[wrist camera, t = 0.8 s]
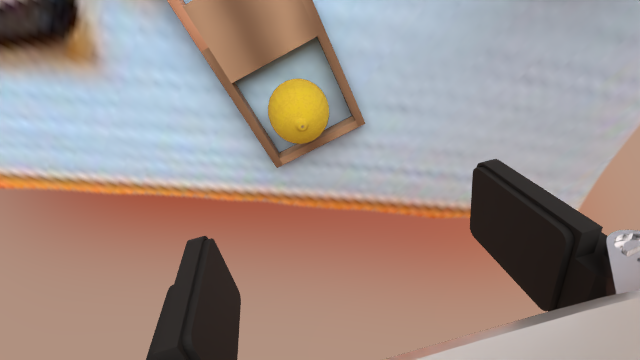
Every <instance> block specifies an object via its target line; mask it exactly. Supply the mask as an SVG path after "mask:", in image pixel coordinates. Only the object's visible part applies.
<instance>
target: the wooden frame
mask: <svg viewBox="0 0 640 360" xmlns="http://www.w3.org/2000/svg"><path fill="white" fill-rule="evenodd" d="M167 1H168V2H169V4H170V6H171V7H172V9H173V10H174V12H175V13H176V15H177V16H178V18H179V19H180V21H181V22H182V24H183V25H184V27H185V28H186V30H187V31H188V33H189V35H190V36H191V38H192V39H193V41H194V42H195V44H196V45H197V47H198V48H199V50H200V51H201V53H202V54H203V56H204V57H205V59H206V61H207V62H208V64H209V65H210V67H211V68H212V70H213V71H214V73H215V74H216V76H217V77H218V79H219V80H220V82H221V83H222V85H223V86H224V88H225V90H226V91H227V93H228V94H229V96H230V97H231V99H232V100H233V102H234V103H235V105H236V106H237V108H238V109H239V111H240V112H241V114H242V115H243V117H244V119H245V120H246V122H247V123H248V125H249V126H250V128H251V129H252V131H253V132H254V134H255V135H256V137H257V138H258V140H259V141H260V143H261V145H262V146H263V148H264V149H265V151H266V152H267V154H268V155H269V157H270V158H271V160H272V161H273V163H274V164H275V166H276V167H277V168H278V167H280V166H282V165H284V164H286V163H288V162H290V161H292V160H294V159H296V158H298V157H300V156H302V155H304V154H306V153H308V152H310V151H312V150H314V149H316V148H318V147H320V146H322V145H324V144H326V143H328V142H330V141H332V140H333V139H335V138H337V137H339V136H341V135H343V134H345V133H347V132H349V131H351V130H353V129H355V128H357V127H359V126H361V125H363V124H365V122H364V119H363V117H362V115H361V112H360V110H359V108H358V105H357V103H356V101H355V98H354V96H353V94H352V91H351V89H350V87H349V84H348V82H347V80H346V78H345V75H344V73H343V71H342V68H341V66H340V64H339V61H338V59H337V57H336V54H335V52H334V50H333V47H332V45H331V43H330V40H329V38H328V36H327V33H326V31H325V29H324V26H323V24H322V22H321V19H320V17H319V15H318V12H317V10H316V8H315V6H314V3H313V1H312V0H192V1H191V2H189V3H187V4H185V2H184V1H183V0H167ZM315 37H317V38H318V40H319V42H320V45H321V47H322V49H323V51H324V54H325V56H326V58H327V60H328V63H329V65H330V67H331V69H332V71H333V74H334V76H335V78H336V80H337V83H338V85H339V87H340V89H341V92H342V94H343V96H344V98H345V100H346V103H347V105H348V107H349V109H350V112H351V114H352V116H351V117H349V118H347V119H345V120H343V121H341V122H339V123H337V124H335V125H333V126H331V127H329V128H327V129H326V130H324V131H323V132H322V133H321V135H320V136H319V137H317V138H316V139H315V140H313V141H310V142H308V143H303V144H296V145H294V146H292V147H290V148H288V149H286V150H284V151H282V152H280V153H279V152H278V150H277V148H276V147H275V145H274V144H273V142H272V140H271V139H270V137H269V136H268V134H267V133H266V131H265V129H264V128H263V126H262V125H261V123H260V121H259V120H258V118H257V117H256V115H255V113H254V112H253V110H252V109H251V107H250V106H249V104H248V102H247V101H246V99H245V98H244V96H243V94H242V93H241V91H240V90H239V88H238V86H237V85H236V83H235V81H237V80H239V79H241V78H242V77H244V76H246V75H248V74H250V73H251V72H253V71H255V70H257V69H259V68H261V67H262V66H264V65H266V64H268V63H270V62H271V61H273V60H275V59H277V58H279V57H281V56H282V55H284V54H286V53H288V52H290V51H291V50H293V49H295V48H297V47H299V46H301V45H302V44H304V43H306V42H308V41H310V40H311V39H313V38H315Z"/></svg>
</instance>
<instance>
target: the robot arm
mask: <svg viewBox="0 0 640 360" xmlns="http://www.w3.org/2000/svg"><path fill="white" fill-rule="evenodd" d="M602 228H603V227H601V226H600V225H598V224H597V223H595V222H594V221H592V220H591V219H589V218H588V217H586V216H584V215H583V214H581V213H580V212H578V211H577V210H575V209H574V208H572V207H571V206H569V205H567V204H566V203H564V202H563V201H561V200H560V199H558V198H557V197H555V196H554V195H552V194H550V193H549V192H547V191H546V190H544V189H543V188H541V187H540V186H538V185H536V184H535V183H533V182H532V181H530V180H529V179H527V178H526V177H524V176H523V175H521V174H519V173H518V172H516V171H515V170H513V169H512V168H510V167H509V166H507V165H505V164H504V163H502V162H501V161H499V160H497V159H493V160H489V161H485V162H482V163H479V164H478V165H477V168H475V169H474V170H473V181H472V198H471V216H470V230H471V233H472V235H473V236H474V238H475V239H476V240H477V241H478V242H479V243H480V244H481V245H482V246H483V247H484V248H485V249H486V250H487V251H488V253H489V254H490V255H491V256H492V257H493V258H494V259H495V260H496V261H497V262H498V263H499V264H500V265H501V267H502V268H503V269H504V270H505V271H506V272H507V273H508V274H509V275H510V276H511V277H512V278H513V280H514V281H515V282H516V283H517V284H518V285H519V286H520V287H521V288H522V289H523V290H524V291H525V292H526V294H528V296H529V297H530V298H531V299H532V300H533V301H534V302H535V303H536V304H537V305H538V306H539V307H540V308H541V309H542V310H544V311H548V312H546V313H543V314H539V315H535V316H532V317H528V318H525V319H522V320H518V321H514V322H511V323H507V324H504V325H500V326H497V327H493V328H490V329H486V330H483V331H479V332H476V333H472V334H469V335H465V336H462V337H459V338H455V339H452V340H448V341H445V342H441V343H438V344H435V345H431V346H428V347H424V348H421V349H417V350H414V351H411V352H407V353H404V354H401V355H397V356H394V357H390V358H387V359H384V360H640V231H638V230H618V231H615V232H612V233H611V234H610V235H609V236H606V235H605V234H603V233H602V232H601V231H602ZM240 305H241V299H240V293H239V290H238V288H237V286H236V284H235V282H234V280H233V278H232V276H231V274H230V272H229V270H228V268H227V265H226V264H225V261H224V259H223V257H222V255H221V253H220V251H219V249H218V247H217V245H216V243H215V241H214V240H213V239H208V238H207V237H206V236H203V237H199V238H195V239H192V240H188V241H187V244H186V247H185V250H184V254H183V257H182V260H181V264H180V267H179V270H178V273H177V277H176V280H175V284H174V285H172V286H171V287H170V288H169V290H168V292H167V295H166V298H165V301H164V305H163V308H162V311H161V314H160V317H159V320H158V323H157V327H156V330H155V333H154V336H153V339H152V342H151V345H150V349H149V352H148V355H147V358H146V360H237V354H238V338H239V321H240Z"/></svg>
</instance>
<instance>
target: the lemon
mask: <svg viewBox="0 0 640 360" xmlns="http://www.w3.org/2000/svg"><path fill="white" fill-rule="evenodd" d="M268 115H269V119H270V122H271V125H272V126H273V128H274V130H275V131H276V133H277V134H278V135H279V136H280V137H282V138H283V139H285V140H287V141H288V142H292V143H297V144H303V143H308V142H310V141H313V140H315V139H316V138H317V137H319V136H320V135H321V133H322V132H323V131H324V129H325V127H326V125H327V122H328V118H329V106H328V102H327V99H326V97H325V95H324V94H323V92H322V90H321V89H320V88H319V87H317V86H316V85H315V84H314V83H312V82H310V81H308V80H304V79H291V80H288V81H285V82H284V83H282V84H280V85H279V86H278V87H277V88H276V89H275V90H274V92H273V94H272V96H271V97H270V101H269V105H268Z"/></svg>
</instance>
